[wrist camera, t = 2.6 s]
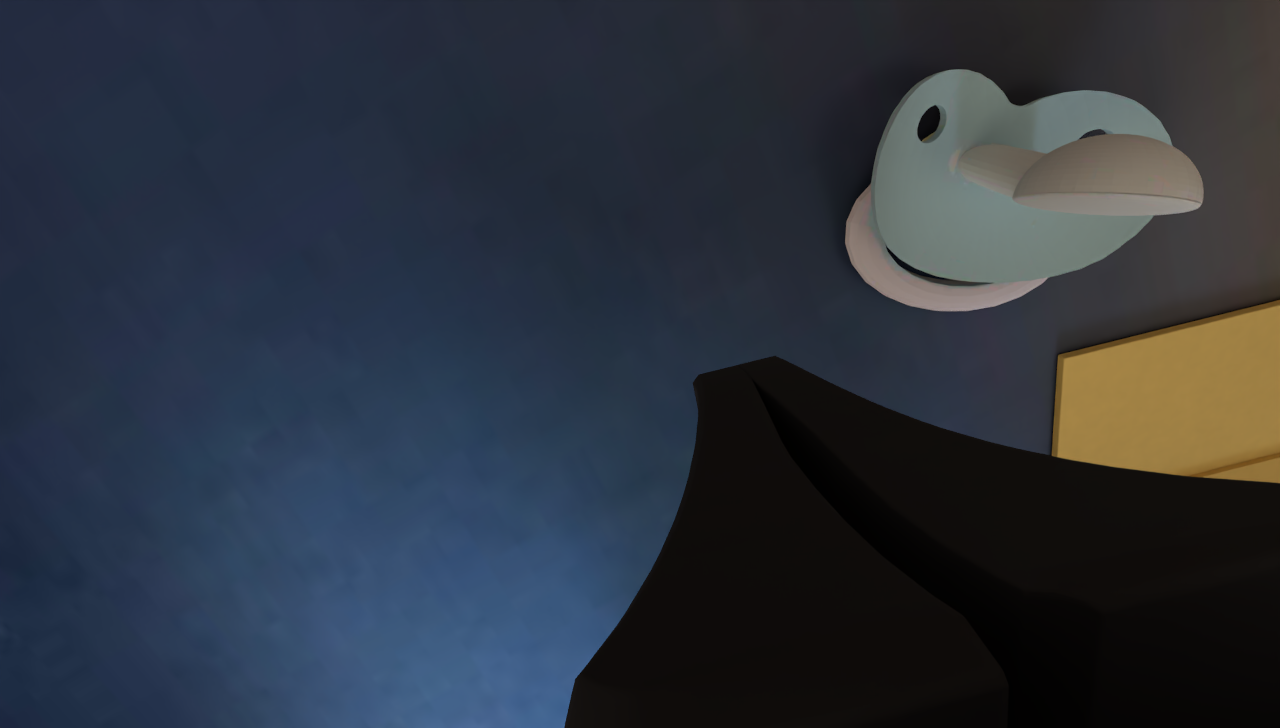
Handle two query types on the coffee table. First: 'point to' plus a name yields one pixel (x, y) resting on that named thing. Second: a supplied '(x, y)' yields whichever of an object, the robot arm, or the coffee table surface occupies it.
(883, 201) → the pacifier
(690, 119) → the coffee table surface
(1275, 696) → the robot arm
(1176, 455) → the envelope
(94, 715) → the coffee table surface
